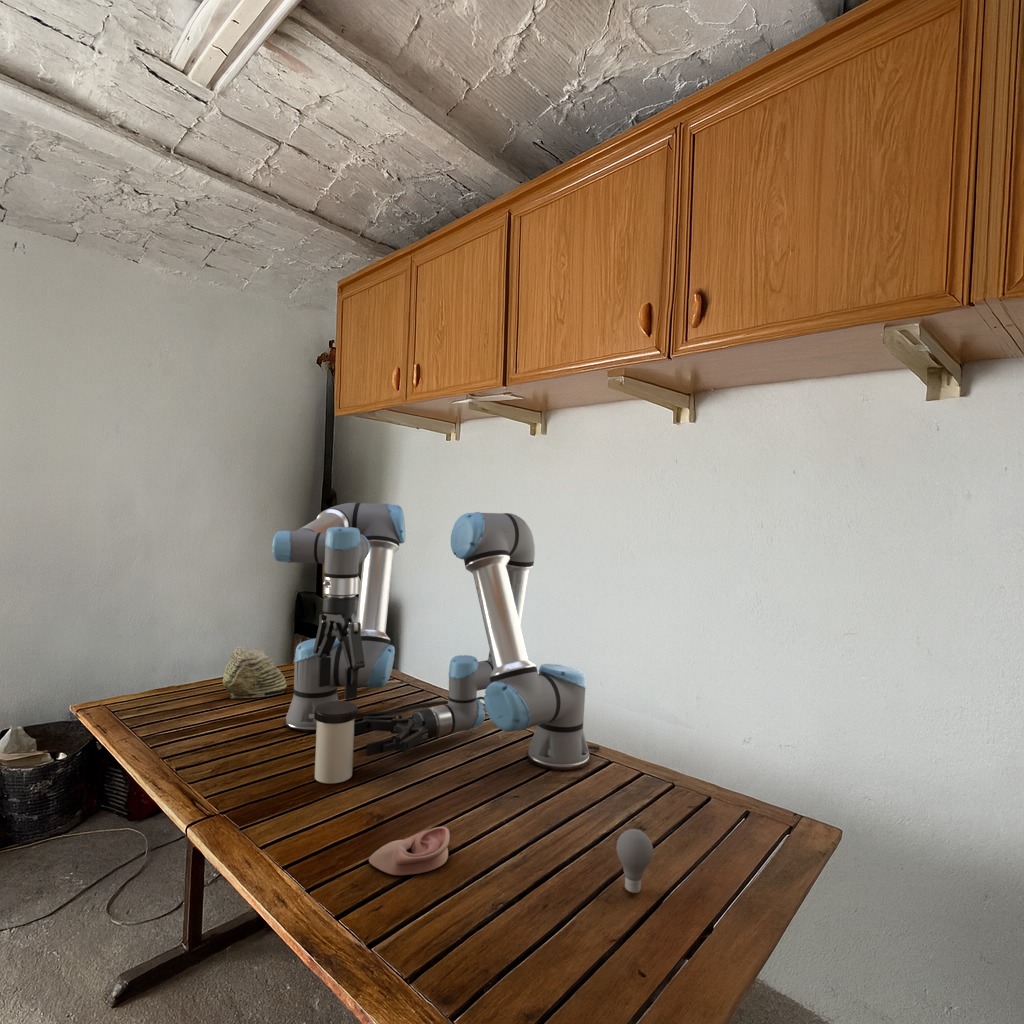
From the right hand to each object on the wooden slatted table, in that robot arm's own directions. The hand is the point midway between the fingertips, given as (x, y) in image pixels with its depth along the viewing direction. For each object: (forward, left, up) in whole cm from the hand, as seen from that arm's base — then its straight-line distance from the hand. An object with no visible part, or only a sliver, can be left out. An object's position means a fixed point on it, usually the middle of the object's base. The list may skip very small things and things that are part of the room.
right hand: (353, 740), depth 149 cm
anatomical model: (-9, +41, -6) cm, 42 cm away
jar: (+4, +4, -6) cm, 9 cm away
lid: (+4, +4, +9) cm, 11 cm away
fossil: (+28, -59, -6) cm, 66 cm away
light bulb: (-44, +57, -6) cm, 72 cm away
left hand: (+4, +4, +13) cm, 14 cm away
